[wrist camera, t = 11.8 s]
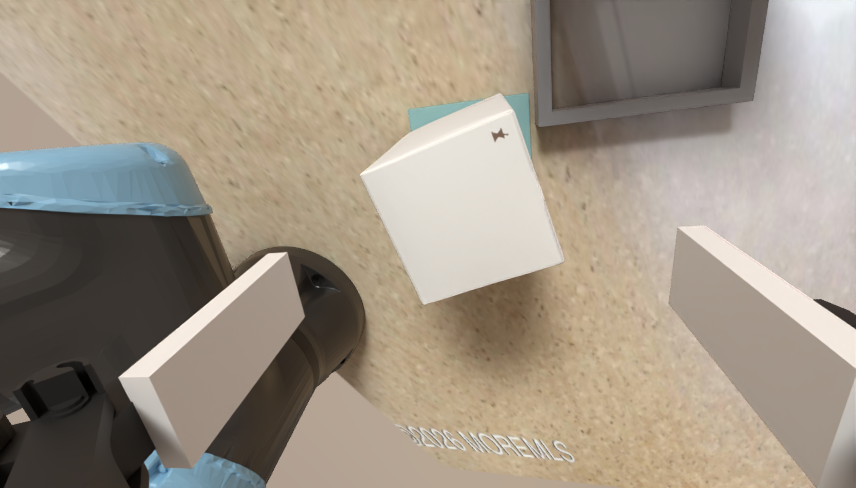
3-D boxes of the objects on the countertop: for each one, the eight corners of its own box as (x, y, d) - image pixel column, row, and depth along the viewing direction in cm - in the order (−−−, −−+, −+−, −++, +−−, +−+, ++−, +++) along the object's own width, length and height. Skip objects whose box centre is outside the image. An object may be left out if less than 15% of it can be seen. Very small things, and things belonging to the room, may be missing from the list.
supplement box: (402, 133, 35) (352, 170, 21) (502, 90, 33) (516, 101, 19) (442, 225, 38) (419, 310, 24) (535, 191, 36) (569, 265, 22)
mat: (424, 219, 38) (424, 220, 38) (408, 109, 35) (408, 109, 34) (532, 209, 37) (533, 210, 36) (527, 92, 33) (528, 93, 33)
